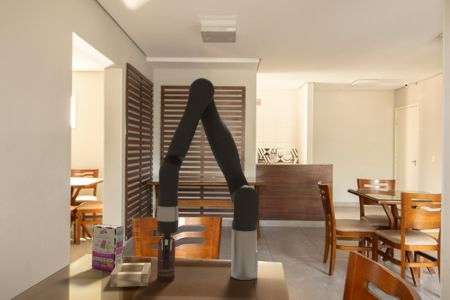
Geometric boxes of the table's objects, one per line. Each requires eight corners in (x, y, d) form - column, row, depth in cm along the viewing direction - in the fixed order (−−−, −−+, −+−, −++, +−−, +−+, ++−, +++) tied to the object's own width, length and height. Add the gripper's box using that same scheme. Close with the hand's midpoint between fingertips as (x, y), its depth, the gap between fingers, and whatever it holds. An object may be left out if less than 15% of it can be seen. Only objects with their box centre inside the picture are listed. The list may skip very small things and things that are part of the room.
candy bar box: (123, 268, 130) (124, 225, 130) (114, 272, 125) (115, 228, 125) (100, 264, 134) (101, 223, 134) (91, 268, 129) (92, 225, 130)
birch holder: (150, 273, 125) (150, 262, 125) (147, 285, 113) (147, 273, 113) (117, 274, 123) (117, 263, 123) (110, 286, 111) (110, 274, 111)
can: (171, 282, 116) (172, 241, 116) (154, 281, 117) (155, 240, 117) (177, 276, 122) (178, 237, 122) (161, 275, 123) (162, 236, 123)
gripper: (178, 222, 113) (177, 270, 113) (178, 215, 128) (177, 258, 127) (155, 222, 112) (154, 271, 112) (158, 215, 127) (157, 258, 126)
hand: (166, 264), depth 120 cm, fingers open, 8 cm apart
